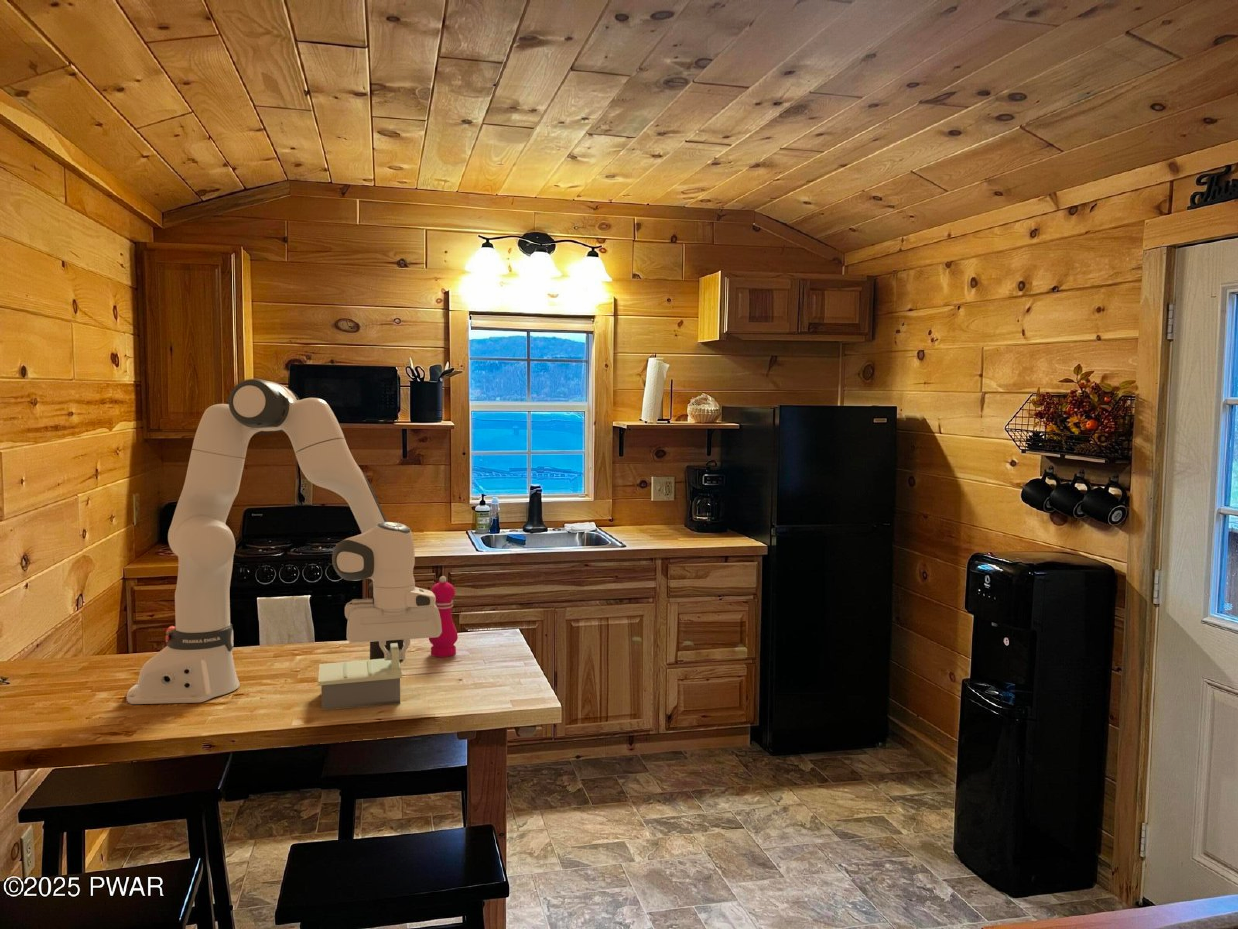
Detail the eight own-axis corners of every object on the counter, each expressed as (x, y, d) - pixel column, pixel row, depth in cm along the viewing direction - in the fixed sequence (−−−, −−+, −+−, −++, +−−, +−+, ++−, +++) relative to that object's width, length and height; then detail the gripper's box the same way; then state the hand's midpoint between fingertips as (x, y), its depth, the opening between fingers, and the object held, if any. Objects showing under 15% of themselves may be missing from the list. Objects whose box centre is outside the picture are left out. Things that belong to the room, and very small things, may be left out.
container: (410, 655, 233) (409, 577, 231) (398, 666, 224) (397, 585, 222) (376, 654, 234) (375, 576, 232) (363, 665, 225) (362, 584, 223)
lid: (318, 690, 192) (317, 661, 191) (319, 672, 204) (318, 644, 204) (402, 682, 197) (401, 654, 196) (398, 665, 209) (397, 638, 209)
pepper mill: (435, 659, 230) (434, 580, 228) (424, 652, 236) (424, 575, 234) (462, 655, 234) (461, 577, 232) (451, 648, 240) (450, 572, 238)
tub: (321, 710, 193) (321, 684, 193) (322, 692, 204) (322, 668, 204) (400, 703, 198) (400, 678, 197) (396, 686, 209) (396, 662, 209)
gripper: (344, 602, 195) (345, 667, 196) (442, 597, 201) (442, 659, 202) (344, 596, 201) (345, 658, 202) (439, 591, 207) (439, 652, 208)
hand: (394, 659), depth 202 cm, fingers closed on lid
